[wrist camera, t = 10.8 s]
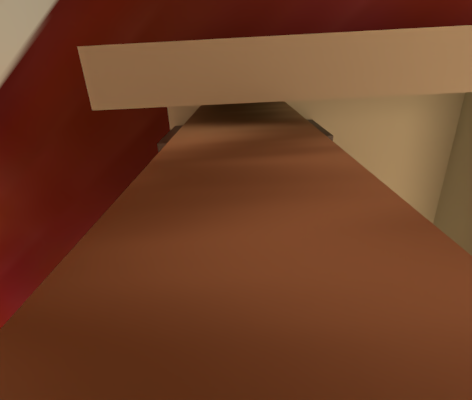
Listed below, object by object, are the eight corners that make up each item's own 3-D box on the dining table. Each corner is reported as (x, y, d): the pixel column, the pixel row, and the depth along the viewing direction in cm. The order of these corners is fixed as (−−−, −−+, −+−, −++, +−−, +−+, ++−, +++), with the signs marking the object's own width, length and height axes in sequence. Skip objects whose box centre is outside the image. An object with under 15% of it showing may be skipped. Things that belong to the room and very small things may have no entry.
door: (281, 98, 14) (859, 576, 1) (278, 328, 19) (354, 839, 7) (166, 104, 14) (-688, 586, 1) (196, 331, 20) (118, 834, 7)
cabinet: (487, 38, 16) (816, 6, 7) (419, 302, 23) (534, 456, 14) (166, 55, 16) (77, 46, 7) (198, 309, 24) (174, 462, 15)
